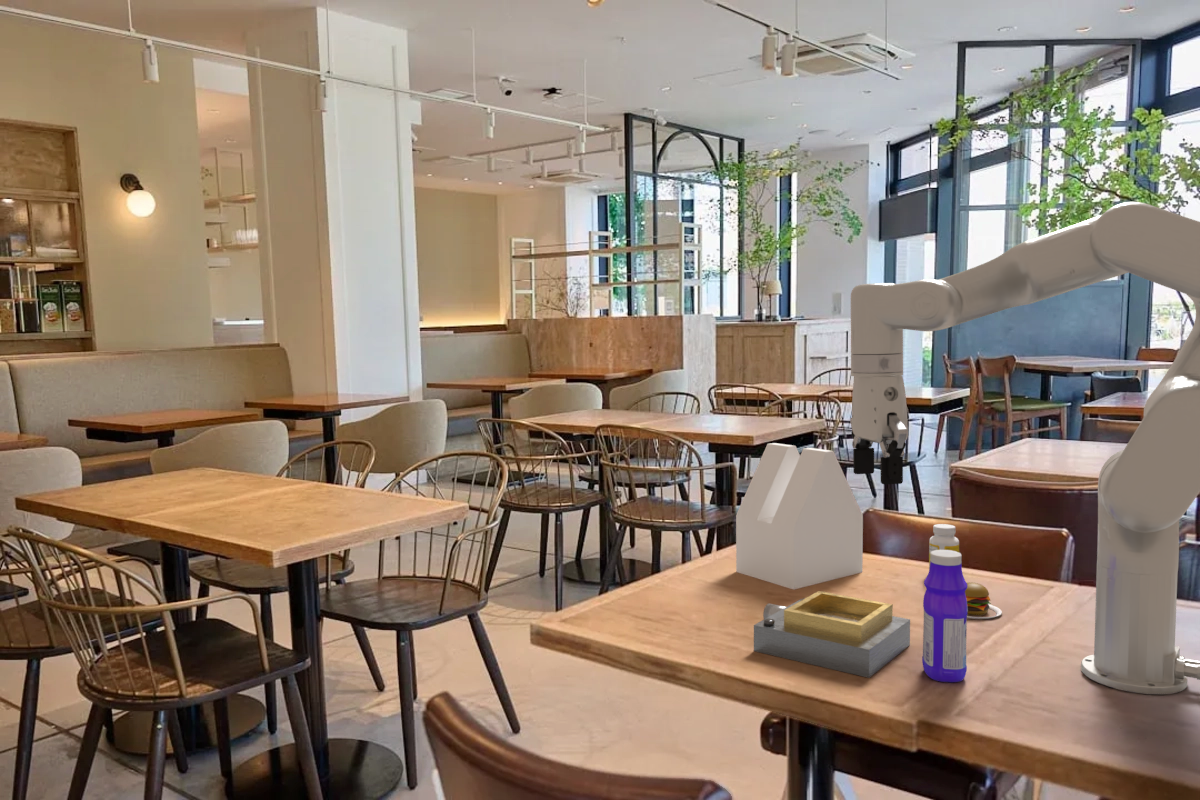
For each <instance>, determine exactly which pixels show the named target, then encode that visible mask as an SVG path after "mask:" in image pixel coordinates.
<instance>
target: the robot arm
mask: <svg viewBox="0 0 1200 800" xmlns="http://www.w3.org/2000/svg"><path fill="white" fill-rule="evenodd" d="M1127 273H1129V274H1132V275H1134V276H1137V277H1139V278H1141V279H1144V280H1147V281H1150V282H1151V283H1155V284H1158V285H1161V286H1163V287H1165V288H1168V289H1171V290H1174V291H1176V292H1179V293H1182V294H1185V295H1186V296H1187V297H1188V298H1190V300H1191V301H1192V302H1193V304H1194V308H1195V309H1194V310H1195V319H1194V323H1193V326H1192V329H1191V330H1190V333H1189V335H1188V336H1187V338H1186V340H1185V342H1184V343H1183V345H1182V346H1181V349H1180V351H1179V352H1178V354H1177V355H1176V357H1175V359H1173V360H1174V361H1173V362H1172V364H1171V365H1170V367H1169V368H1168V370H1167V371H1166V373H1165V374H1164V376H1163V378H1162V379H1161V381H1160V382H1159V383H1158V385H1157V386H1156V388H1155V389H1154V390H1153V391H1152V392H1151V394H1150V395H1149V397H1148V398H1147V399H1146V401H1145V402H1146V403H1145V404H1144V406H1143V418H1142V420H1141V421H1140V423H1139V425H1138V426H1137V428H1136V430H1135V431H1134V433H1133V434H1132V436H1131V438H1130V439H1129V441H1128V442H1127V443H1126V446H1125V447H1124V449H1122V450H1119V451H1118V452H1115V453H1113V455H1112V456H1110V457H1109V458H1108V459H1107V460H1106V461H1105V462H1104V463H1103V465H1102V467H1101V470H1100V472H1099V476H1098V478H1097V479H1098V481H1097V547H1096V548H1097V549H1096V550H1097V551H1096V555H1097V556H1096V573H1095V575H1096V581H1095V584H1096V585H1095V609H1094V610H1095V611H1094V616H1095V617H1094V647H1093V648H1094V650H1093V653H1094V654H1090V655H1087V656H1085V657H1084V658H1082V660H1081V664H1080V665H1081V666H1080V669H1081V672H1082V673H1083V674H1084V675H1085V676H1086V677H1087V678H1089V679H1090V680H1092V681H1094V682H1096V683H1098V684H1100V685H1104V686H1106V687H1110V688H1111V689H1112V688H1113V689H1116V690H1121V691H1125V692H1130V693H1134V694H1135V693H1136V694H1145V695H1170V694H1176V693H1180V692H1181V691H1184V690H1185V689H1186V688H1188V678H1192V679H1196V680H1198V681H1200V660H1196V659H1189V658H1185V656H1183V655H1180V649H1181V647H1180V646H1179V645H1178V646H1177V645H1176V629H1177V628H1176V627H1177V626H1176V623H1177V594H1178V571H1179V557H1180V519H1181V518H1182V517H1183V516H1184V515H1185V514H1186V512H1187V511H1188V509H1189V508H1190V507H1191V505H1192V504H1193V503H1194V502H1195V500H1196V498H1197V496H1198V495H1199V493H1200V221H1198V220H1195V219H1193V218H1189V217H1186V216H1185V215H1181V214H1178V213H1175V212H1172V211H1169V210H1166V209H1164V208H1160V207H1157V206H1154V205H1152V204H1149V203H1145V202H1140V201H1127V202H1122V203H1119V204H1116V205H1114V206H1111V207H1110V208H1108V209H1107V210H1106V211H1105V212H1103V213H1102V214H1100V215H1097V216H1094V217H1091V218H1088V219H1087V220H1082V221H1081V222H1078V223H1075V224H1073V225H1069V226H1066V227H1063V228H1061V229H1057V230H1055V231H1052V232H1049V233H1045V234H1043V235H1039V236H1037V237H1033V238H1030V239H1027V240H1025V241H1023V242H1021V243H1019V244H1016V245H1014V246H1012V247H1011V248H1009V249H1008V250H1006V251H1005V252H1003V253H1001V255H998V256H997V257H995V258H993V259H991V260H989V261H987V262H984V263H981V264H979V265H977V266H973V267H971V268H969V269H965V270H963V271H960V272H957V273H955V274H952V275H949V276H945V277H942V278H939V279H933V278H932V279H931V278H925V279H924V278H923V279H920V280H919V279H917V280H913V281H908V282H903V283H902V282H901V283H893V282H879V283H877V282H876V283H862V284H858V285H855V286H854V287H853V288H852V290H851V293H850V376H851V377H854V378H853V384H852V385H853V386H852V400H851V418H850V420H849V422H850V426H851V432H850V433H851V434H850V435H851V437H852V443H851V445H852V448H853V453H852V454H853V456H852V458H853V459H852V460H853V462H852V463H853V464H852V465H853V466H852V467H853V474H855V475H870V474H874V473H875V448H874V447H872V446H873V443H876V444H879V447H880V450H881V452H882V456H881V457H880V483H881V484H882V485H901V484H902V483H903V482H904V463H903V462H904V456H905V448H906V446H907V443H906V441H907V439H908V436H909V433H908V432H909V431H908V429H909V428H908V411H907V410H908V408H907V397H906V396H907V395H906V389H905V382H904V377H903V376H904V332H903V331H904V330H910V331H915V332H916V331H917V332H918V331H919V332H935V331H941V330H945V329H949V328H952V327H955V326H958V325H961V324H963V323H967V322H970V321H974V320H977V319H980V318H982V317H985V316H986V317H987V316H988V315H992V314H995V313H998V312H1002V311H1005V310H1009V309H1011V308H1017V307H1020V306H1026V305H1027V306H1028V305H1031V304H1035V303H1036V302H1041V301H1044V300H1048V299H1050V298H1053V297H1056V296H1060V295H1062V294H1065V293H1068V292H1071V291H1075V290H1077V289H1081V288H1084V287H1087V286H1091V285H1093V284H1096V283H1101V282H1102V281H1107V280H1109V279H1113V278H1115V277H1119V276H1122V275H1124V274H1127ZM888 445H889V446H888Z"/></svg>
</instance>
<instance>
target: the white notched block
mask: <svg viewBox="0 0 1200 800" xmlns="http://www.w3.org/2000/svg"><path fill="white" fill-rule="evenodd" d="M735 520H736V521H735V522H736V523H735V527H736V528H735V534H736V535H735V542H736V543H735V545H736V546H735V548H736V549H735V551H736V553H735V555H736V556H735V557H736V561H735V565H736V566H735V567H736V568H735V569H736V571H735V572H736V573H739V574H742V575H746V576H748V577H752V578H755V579H758V580H762V581H764V582H768V583H771V584H774V585H778V586H781V587H784V588H787V589H791V590H797V589H801V588H805V587H809V586H813V585H818V584H821V583H825V582H829V581H834V580H836V579H841V578H845V577H850V576H852V575H857V574H861V573H863V561H864V560H863V558H864V557H863V554H864V553H863V552H864V551H863V548H864V547H863V545H864V543H863V542H864V541H863V539H864V538H863V536H864V535H863V532H864V530H863V529H864V514H863V513H862V510H861V508H860V506H859V504H858V502H857V500H856V497H855V495H854V493H853V491H852V489H851V486H850V484H849V482H848V480H847V478H846V476H845V474H844V471H843V469H842V467H841V465H840V462H839V461H838V459H837V456H836V454H835V452H834V451H833V450H829V449H821V448H816V447H807V448H805V447H804V448H802V450H801V453H800V452H799V450H798V448H797V446H796V445H794V444H793V445H792V444H785V443H777V442H772V443H767V444H766V447H765V449H764V451H763V453H762V455H761V457H760V460H759V461H758V465H757V467H756V469H755V471H754V474H753V476H752V478H751V481H750V482H749V484H748V487H747V489H746V492H745V495H744V497H743V498H742V501H741V503H740V505H739V507H738V510H737V512H736V515H735Z"/></svg>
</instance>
